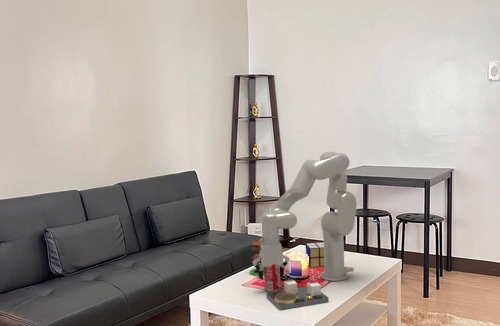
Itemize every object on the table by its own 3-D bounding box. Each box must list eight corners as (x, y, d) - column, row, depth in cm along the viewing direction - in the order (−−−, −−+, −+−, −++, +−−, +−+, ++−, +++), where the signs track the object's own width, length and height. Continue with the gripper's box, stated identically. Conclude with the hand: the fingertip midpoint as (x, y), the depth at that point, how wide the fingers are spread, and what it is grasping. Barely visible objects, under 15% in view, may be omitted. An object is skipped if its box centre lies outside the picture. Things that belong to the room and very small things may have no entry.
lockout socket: (292, 294, 235) (292, 291, 235) (301, 301, 226) (301, 298, 226) (271, 297, 232) (271, 294, 232) (279, 305, 223) (279, 302, 223)
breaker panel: (312, 290, 245) (312, 283, 245) (328, 302, 230) (328, 295, 230) (266, 297, 238) (266, 290, 238) (279, 310, 223) (279, 303, 223)
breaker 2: (315, 291, 237) (315, 280, 236) (321, 295, 232) (320, 284, 232) (307, 292, 236) (307, 282, 235) (312, 296, 231) (312, 285, 230)
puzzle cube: (306, 262, 289) (305, 243, 287) (324, 260, 290) (324, 242, 288) (310, 267, 279) (309, 248, 278) (329, 266, 280) (328, 247, 279)
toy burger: (244, 276, 269) (243, 246, 268) (252, 268, 281) (251, 239, 279) (267, 277, 266) (266, 247, 264) (274, 269, 277) (273, 240, 276)
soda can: (279, 292, 244) (278, 264, 242) (263, 292, 245) (262, 264, 244) (281, 287, 251) (280, 259, 249) (266, 287, 252) (265, 259, 251)
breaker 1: (293, 289, 240) (292, 279, 240) (297, 293, 236) (297, 282, 235) (284, 290, 239) (284, 280, 239) (288, 294, 234) (288, 283, 234)
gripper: (255, 244, 239) (255, 282, 241) (291, 240, 244) (292, 277, 246) (249, 240, 246) (250, 277, 248) (285, 236, 251) (286, 273, 253)
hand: (271, 277), depth 247 cm, fingers open, 9 cm apart
